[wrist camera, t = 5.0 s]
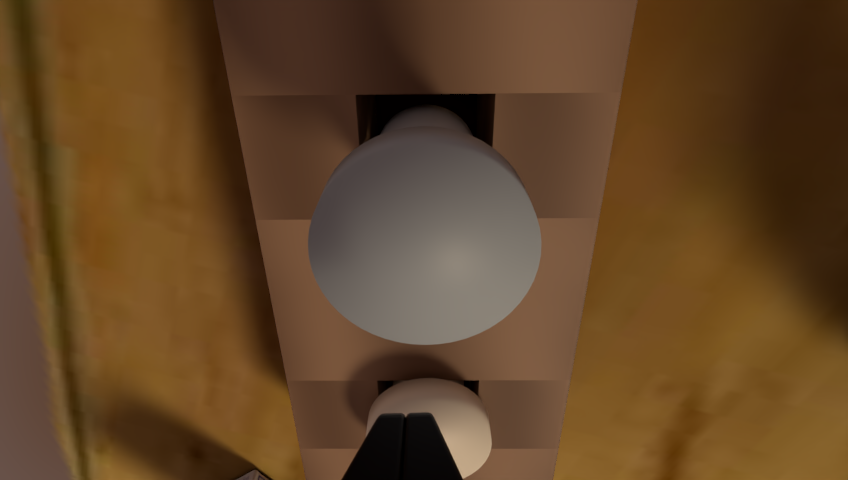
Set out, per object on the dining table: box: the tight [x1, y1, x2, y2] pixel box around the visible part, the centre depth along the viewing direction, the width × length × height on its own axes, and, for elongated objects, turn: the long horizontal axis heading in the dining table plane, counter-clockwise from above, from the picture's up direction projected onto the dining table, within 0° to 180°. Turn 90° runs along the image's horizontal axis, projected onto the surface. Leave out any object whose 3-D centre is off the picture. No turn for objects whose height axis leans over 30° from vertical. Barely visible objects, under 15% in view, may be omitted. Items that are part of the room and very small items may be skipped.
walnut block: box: [213, 0, 638, 480], centre depth 19 cm, size 10×22×5 cm, turn 1°
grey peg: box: [308, 105, 541, 345], centre depth 12 cm, size 4×4×6 cm
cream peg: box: [366, 378, 492, 478], centre depth 20 cm, size 4×4×6 cm
